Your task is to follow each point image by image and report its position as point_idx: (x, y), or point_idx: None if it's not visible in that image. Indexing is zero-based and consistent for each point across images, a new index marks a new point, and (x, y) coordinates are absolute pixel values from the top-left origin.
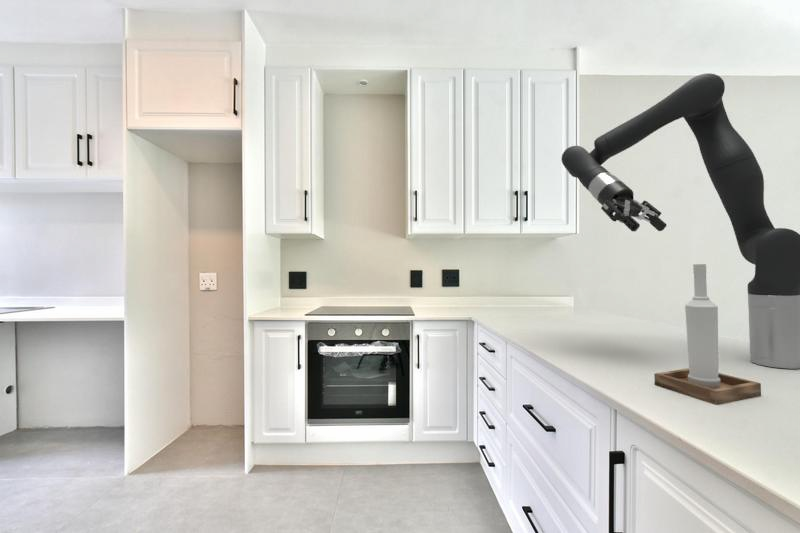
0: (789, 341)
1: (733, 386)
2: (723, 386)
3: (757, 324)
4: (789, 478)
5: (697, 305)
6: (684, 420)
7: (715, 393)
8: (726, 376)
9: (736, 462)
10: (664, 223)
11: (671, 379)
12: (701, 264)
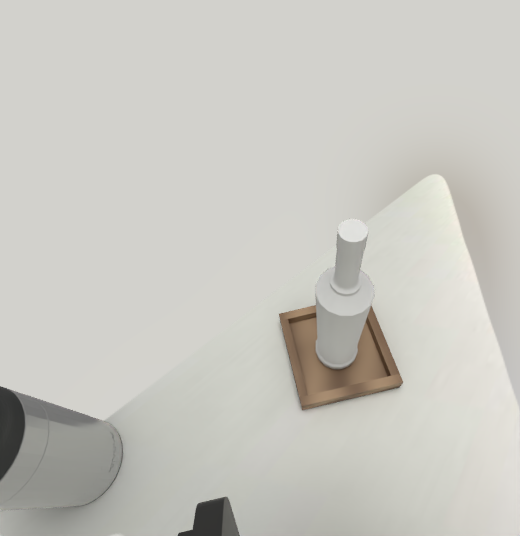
0: (78, 412)
1: None
2: (310, 343)
3: (74, 453)
4: (419, 183)
5: (365, 275)
6: (436, 267)
7: None
8: (295, 348)
9: (443, 200)
10: (212, 508)
11: (389, 352)
12: (357, 220)
